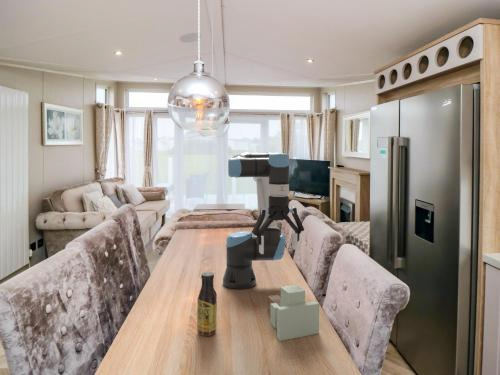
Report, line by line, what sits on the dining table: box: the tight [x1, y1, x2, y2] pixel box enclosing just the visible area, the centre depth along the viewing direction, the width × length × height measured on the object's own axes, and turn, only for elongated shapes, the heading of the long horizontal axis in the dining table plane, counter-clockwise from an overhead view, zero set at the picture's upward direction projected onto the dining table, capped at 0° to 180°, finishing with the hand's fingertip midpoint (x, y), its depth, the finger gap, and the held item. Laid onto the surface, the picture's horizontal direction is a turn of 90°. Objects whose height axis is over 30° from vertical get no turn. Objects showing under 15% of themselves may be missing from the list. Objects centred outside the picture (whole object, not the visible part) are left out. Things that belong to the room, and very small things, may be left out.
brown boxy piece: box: [267, 294, 281, 314], centre depth 126 cm, size 12×4×6 cm, turn 19°
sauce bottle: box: [196, 271, 218, 337], centre depth 115 cm, size 7×6×20 cm
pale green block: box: [269, 284, 320, 342], centre depth 118 cm, size 12×14×14 cm
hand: (278, 251), depth 133 cm, fingers open, 13 cm apart
